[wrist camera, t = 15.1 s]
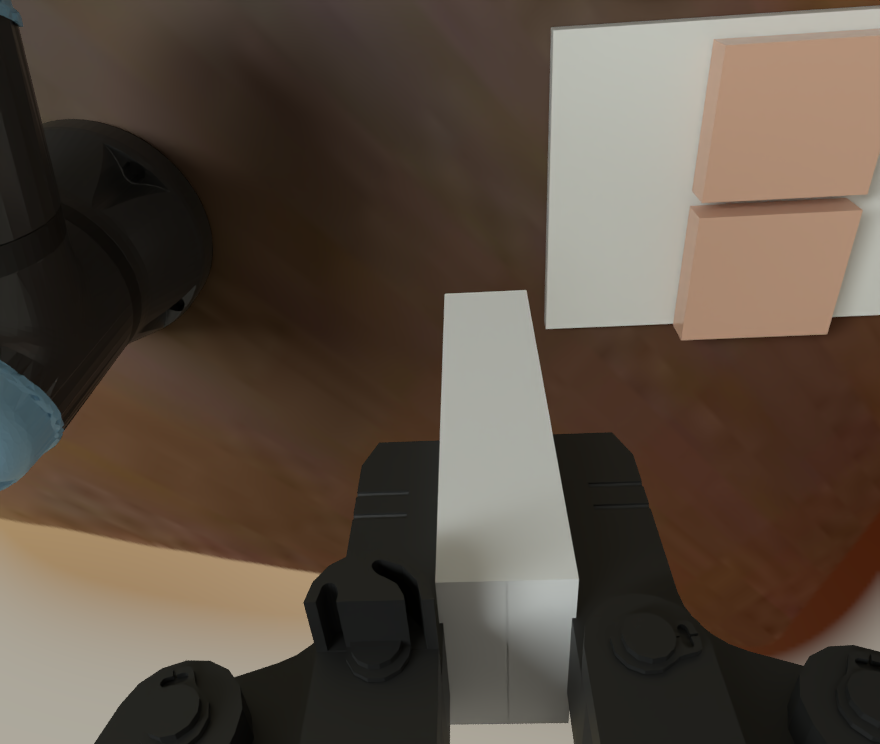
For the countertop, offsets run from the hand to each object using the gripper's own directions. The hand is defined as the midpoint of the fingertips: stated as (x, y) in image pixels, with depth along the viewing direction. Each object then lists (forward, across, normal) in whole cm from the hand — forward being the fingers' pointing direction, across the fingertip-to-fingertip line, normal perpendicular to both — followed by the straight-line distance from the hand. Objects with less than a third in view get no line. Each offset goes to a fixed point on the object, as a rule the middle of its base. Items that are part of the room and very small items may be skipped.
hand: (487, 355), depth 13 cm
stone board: (+34, +17, -9) cm, 39 cm away
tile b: (+32, +14, -4) cm, 35 cm away
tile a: (+32, +14, -14) cm, 38 cm away
